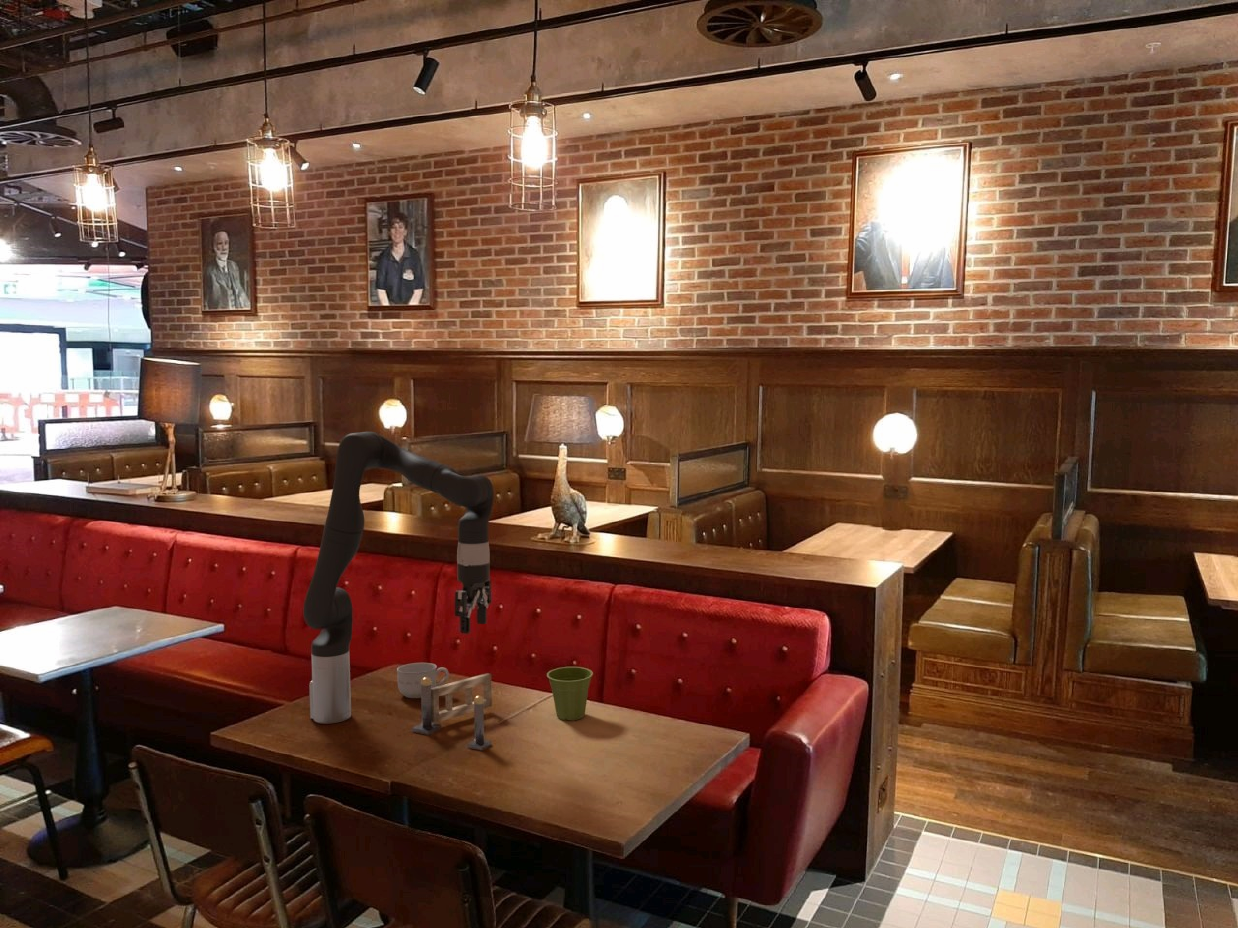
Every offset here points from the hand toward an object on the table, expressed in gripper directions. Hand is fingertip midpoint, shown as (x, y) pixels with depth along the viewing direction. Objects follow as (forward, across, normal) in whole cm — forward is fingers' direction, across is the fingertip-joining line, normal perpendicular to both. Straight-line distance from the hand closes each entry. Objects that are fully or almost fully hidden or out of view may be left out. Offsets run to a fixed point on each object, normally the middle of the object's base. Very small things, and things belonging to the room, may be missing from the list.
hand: (473, 628), depth 217 cm
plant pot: (+28, -23, +16) cm, 39 cm away
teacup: (+28, -26, -28) cm, 48 cm away
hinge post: (+28, -3, -14) cm, 32 cm away
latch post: (+28, +2, +2) cm, 28 cm away
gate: (+26, -12, -10) cm, 31 cm away
